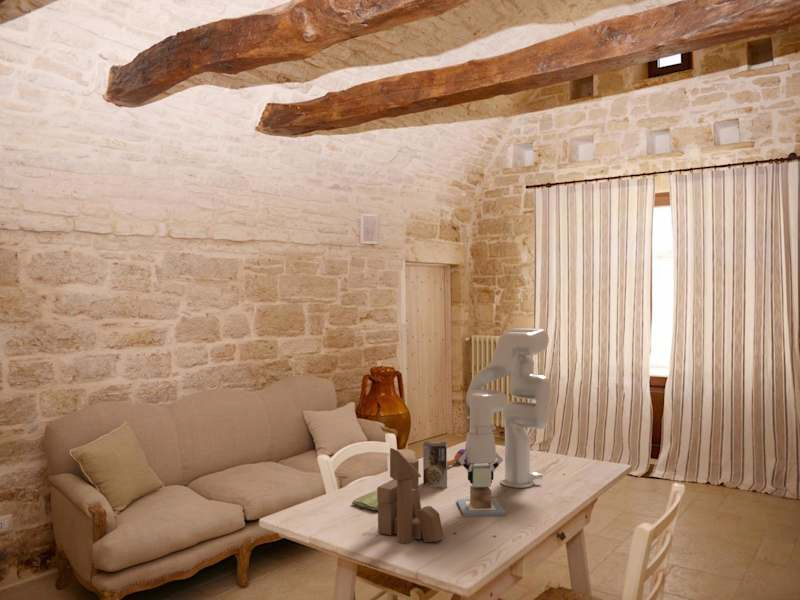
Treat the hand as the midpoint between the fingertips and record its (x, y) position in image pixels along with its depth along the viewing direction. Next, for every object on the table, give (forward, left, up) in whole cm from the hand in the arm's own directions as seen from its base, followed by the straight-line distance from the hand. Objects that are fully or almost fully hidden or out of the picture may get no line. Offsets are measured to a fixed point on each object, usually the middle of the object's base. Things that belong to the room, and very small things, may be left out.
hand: (480, 481), depth 218 cm
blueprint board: (0, 0, -9) cm, 9 cm away
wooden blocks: (+24, +20, -10) cm, 33 cm away
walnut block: (0, 0, -8) cm, 8 cm away
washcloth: (+34, -8, -10) cm, 36 cm away
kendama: (0, -53, -10) cm, 54 cm away
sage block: (0, 0, -1) cm, 1 cm away
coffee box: (+12, -27, -9) cm, 31 cm away
